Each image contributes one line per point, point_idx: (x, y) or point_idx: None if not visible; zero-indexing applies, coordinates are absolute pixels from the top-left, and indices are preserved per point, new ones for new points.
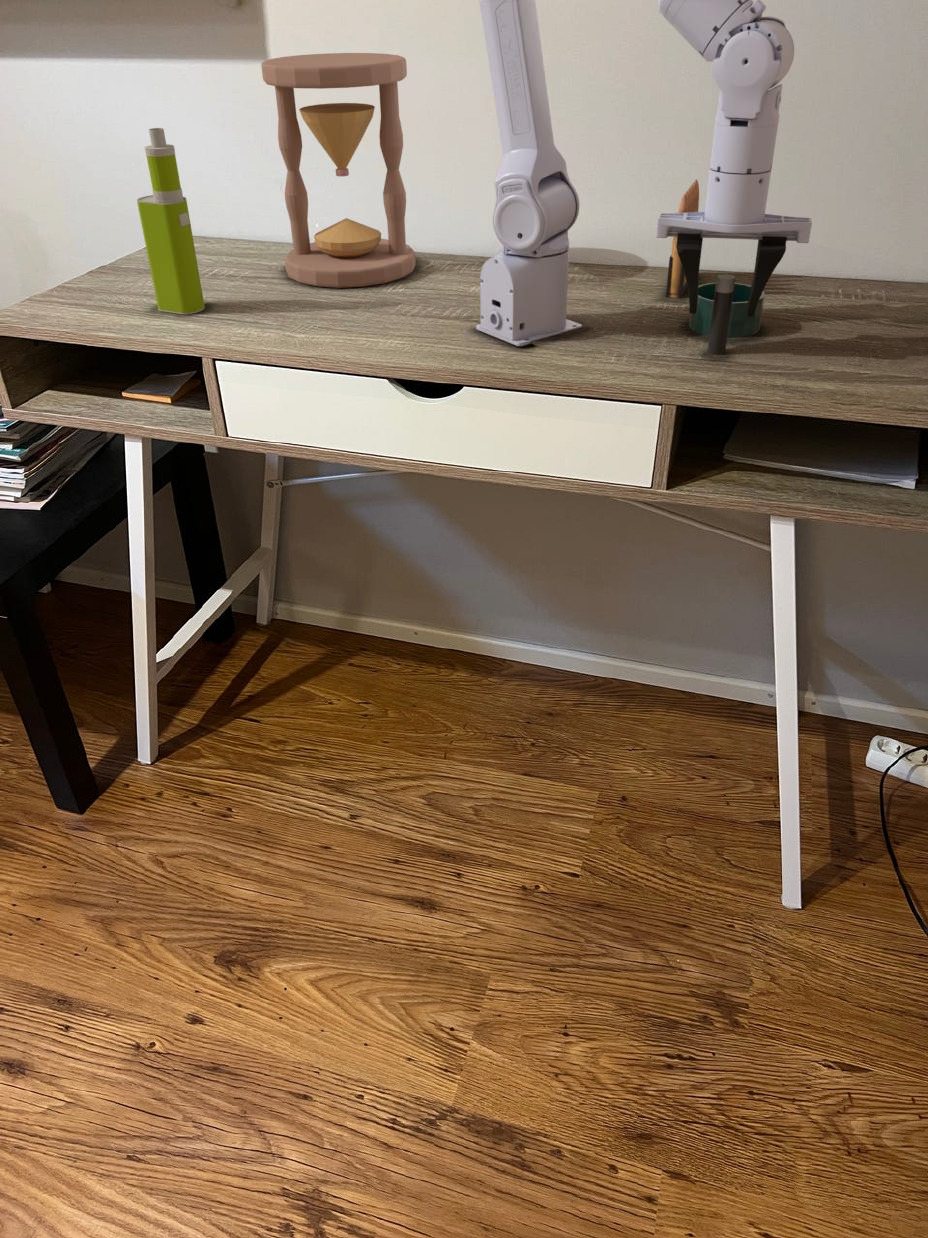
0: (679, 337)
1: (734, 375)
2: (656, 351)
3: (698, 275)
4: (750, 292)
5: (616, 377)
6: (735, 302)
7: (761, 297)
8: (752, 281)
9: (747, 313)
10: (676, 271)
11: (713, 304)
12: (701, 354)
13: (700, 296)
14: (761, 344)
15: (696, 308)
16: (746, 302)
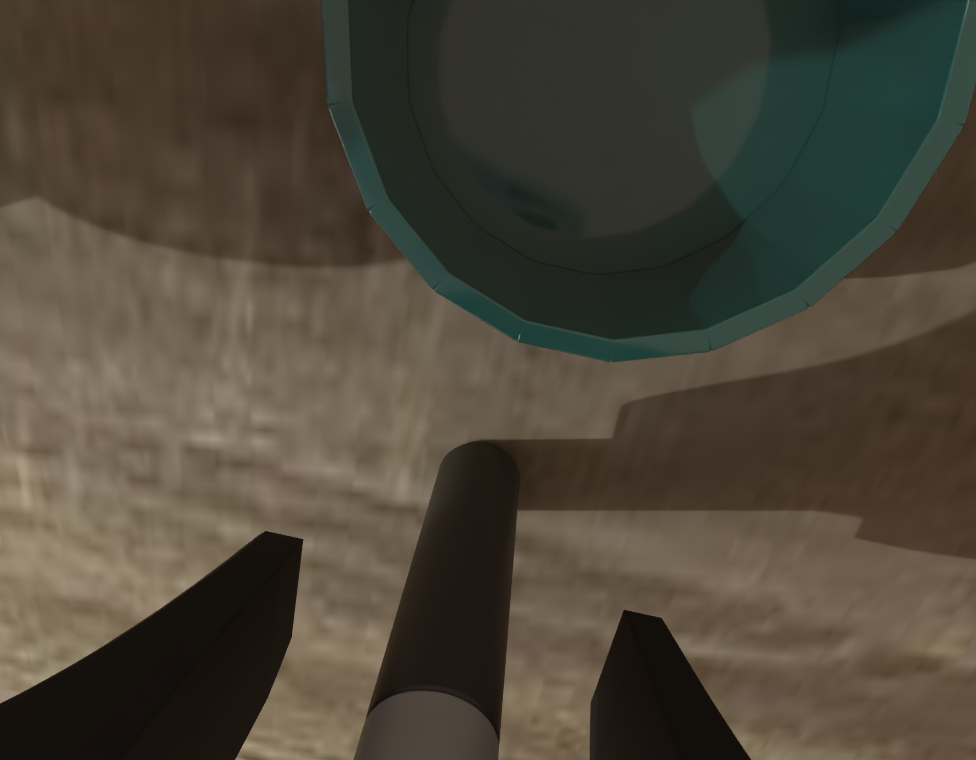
0: (329, 194)
1: (514, 669)
2: (207, 399)
3: (183, 741)
4: (637, 730)
5: (69, 649)
6: (621, 349)
7: (883, 228)
8: (672, 749)
9: (590, 724)
10: None
11: (388, 641)
12: (416, 449)
13: (374, 175)
14: (759, 331)
15: (277, 672)
16: (708, 349)
